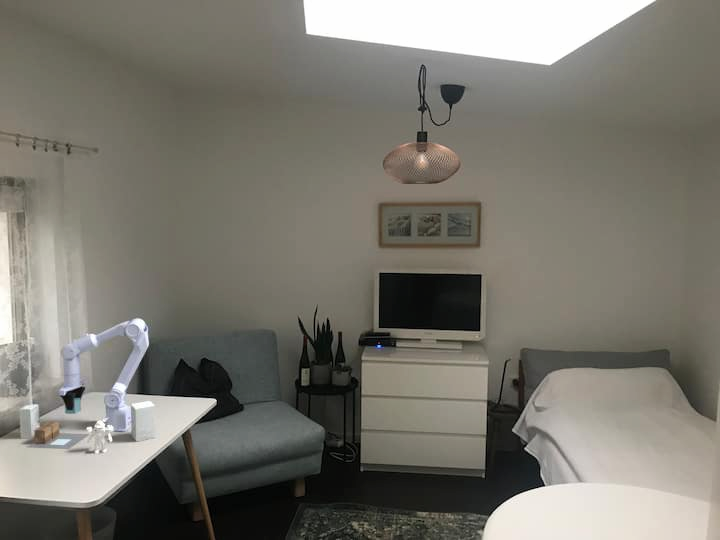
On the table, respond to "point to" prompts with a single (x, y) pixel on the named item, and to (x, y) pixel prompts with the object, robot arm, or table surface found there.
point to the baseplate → (61, 441)
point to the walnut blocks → (46, 432)
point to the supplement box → (143, 421)
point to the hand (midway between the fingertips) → (73, 407)
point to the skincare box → (29, 420)
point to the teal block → (76, 407)
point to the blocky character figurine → (100, 435)
